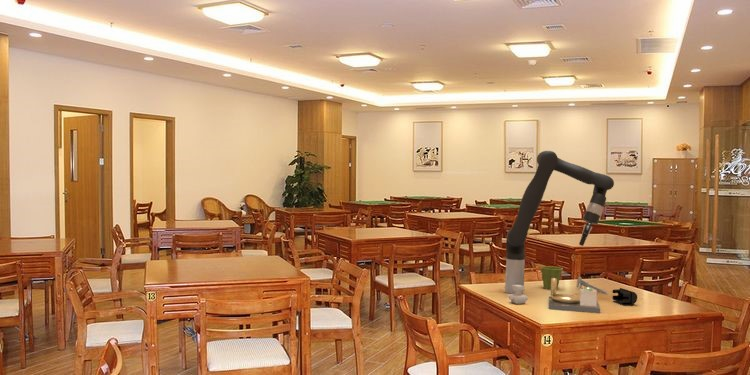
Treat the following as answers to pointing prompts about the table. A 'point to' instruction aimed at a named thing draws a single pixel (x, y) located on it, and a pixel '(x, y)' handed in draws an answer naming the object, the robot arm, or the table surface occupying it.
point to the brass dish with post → (562, 297)
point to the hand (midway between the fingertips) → (581, 245)
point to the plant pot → (550, 275)
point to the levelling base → (572, 306)
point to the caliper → (589, 285)
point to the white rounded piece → (518, 295)
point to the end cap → (624, 297)
